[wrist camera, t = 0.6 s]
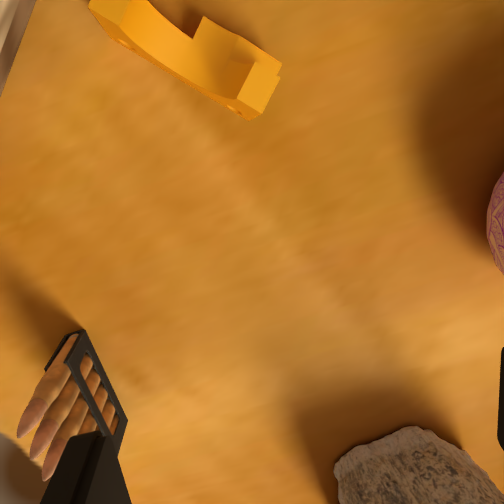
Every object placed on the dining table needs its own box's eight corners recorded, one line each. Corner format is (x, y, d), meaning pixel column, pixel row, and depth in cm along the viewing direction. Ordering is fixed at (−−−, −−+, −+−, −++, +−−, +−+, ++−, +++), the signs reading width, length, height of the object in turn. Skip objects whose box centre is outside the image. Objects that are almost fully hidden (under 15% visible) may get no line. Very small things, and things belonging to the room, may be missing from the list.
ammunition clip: (64, 334, 33) (-4, 430, 22) (84, 328, 34) (27, 419, 22) (110, 427, 36) (70, 553, 25) (128, 421, 37) (97, 543, 25)
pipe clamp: (273, 72, 30) (293, 52, 24) (248, 121, 31) (261, 113, 25) (135, -18, 27) (118, -67, 21) (111, 38, 28) (87, 6, 22)
